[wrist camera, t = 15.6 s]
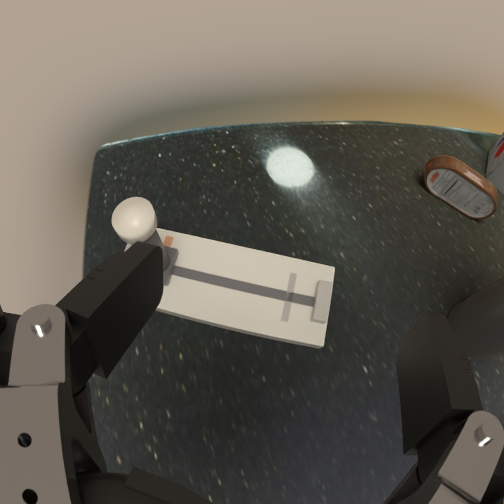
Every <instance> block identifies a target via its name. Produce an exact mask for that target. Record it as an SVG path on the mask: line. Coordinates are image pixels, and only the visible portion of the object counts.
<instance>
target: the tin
mask: <svg viewBox="0 0 504 504" xmlns="http://www.w3.org/2000/svg"><path fill="white" fill-rule="evenodd" d="M424 183H425V185H426V187H427V189H428V190H429V191H430V192H431V193H432V194H433V195H434V196H436V197H438V198H439V199H441V200H442V201H444V202H445V203H447V204H448V205H450V206H452V207H453V208H455V209H456V210H458V211H459V212H461V213H462V214H464V215H465V216H467V217H469V218H472V219H477V220H482V219H486V218H488V217H490V216H492V215H493V214H494V213H495V212H496V210H497V205H498V192H497V189H496V188H495V186H494V185H493V184H492V183H491V182H489V181H488V180H487V179H485V178H484V177H483V176H481V175H480V174H478V173H477V172H476V171H474V170H473V169H471V168H470V167H469V166H467V165H466V164H464V163H463V162H461V161H460V160H458V159H456V158H454V157H451V156H446V155H440V156H435V157H433V158H431V159H430V160H429V161H428V162H427V164H426V167H425V173H424Z"/></svg>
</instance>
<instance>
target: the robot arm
mask: <svg viewBox="0 0 504 504" xmlns="http://www.w3.org/2000/svg"><path fill="white" fill-rule="evenodd" d="M163 289H164V285H163V252H162V248H161V247H160V246H156V245H152V244H149V243H145V242H141V241H137V242H135V243H134V244H133V245H132V246H131V247H129V248H128V249H127V250H126V251H125V252H124V253H121V252H119V253H117V254H115V255H113V256H111V257H108V258H106V259H105V260H104V261H103V262H101V263H100V264H99V265H98V266H97V267H96V268H95V270H93V271H91V272H90V273H89V274H88V275H87V278H84V279H83V280H82V281H81V282H79V283H78V284H77V285H76V286H75V287H74V288H73V289H72V290H71V291H70V292H69V293H68V294H67V295H66V296H65V297H64V298H63V299H62V300H61V301H60V302H58V303H57V304H56V305H55V306H54V305H49V304H42V305H37V306H34V307H32V308H30V309H28V310H27V311H25V312H24V313H23V314H22V315H17V314H11V313H5V312H3V311H2V308H1V306H0V504H212V503H211V502H209V501H207V500H205V499H204V498H202V497H200V496H198V495H197V494H195V493H193V492H192V491H190V490H188V489H187V488H185V487H183V486H182V485H179V484H177V483H174V482H171V481H168V480H166V479H163V478H161V477H158V476H156V475H153V474H151V473H148V472H146V471H143V470H141V469H139V468H136V467H134V466H133V468H132V470H131V472H130V474H129V475H128V474H121V473H108V472H107V468H106V464H105V460H104V457H103V454H102V452H101V449H100V447H99V444H98V440H97V436H96V430H95V424H94V418H93V411H92V404H91V396H90V387H89V382H88V380H89V378H90V377H91V376H92V374H93V373H94V374H96V375H98V376H100V377H103V378H105V379H107V377H108V376H109V374H110V373H111V371H112V370H113V369H114V367H115V366H116V364H117V363H118V361H119V360H120V359H121V357H122V356H123V354H124V353H125V351H126V350H127V349H128V347H129V346H130V344H131V343H132V342H133V340H134V339H135V337H136V336H137V335H138V333H139V332H140V330H141V329H142V328H143V326H144V325H145V323H146V322H147V321H148V319H149V318H150V317H151V315H152V314H153V312H154V311H155V310H156V308H157V307H158V305H159V304H160V301H161V299H162V295H163ZM503 353H504V277H502V278H500V279H499V280H497V281H495V282H494V283H492V284H490V285H489V286H487V287H485V288H483V289H482V290H480V291H478V292H476V293H474V294H473V295H471V296H469V297H467V299H466V300H464V301H462V302H460V303H459V304H457V305H455V306H454V307H453V308H452V310H451V311H450V313H449V315H448V318H447V317H446V316H445V315H443V314H439V313H434V312H430V311H425V310H423V311H421V312H420V313H419V315H418V316H417V318H416V320H415V322H414V324H413V325H412V327H411V329H410V331H409V332H408V334H407V336H406V338H405V339H404V341H403V343H402V344H401V346H400V348H399V351H398V355H397V361H396V366H397V374H398V383H399V393H400V403H401V416H402V430H403V451H404V455H418V462H417V463H416V464H414V465H413V467H412V468H411V469H410V470H409V472H408V473H407V474H406V476H405V477H404V478H403V480H402V481H401V482H400V484H399V485H398V486H397V487H396V489H395V490H394V491H393V492H392V494H391V495H390V496H389V497H388V498H387V500H386V501H385V502H384V503H383V504H504V503H503V499H504V430H503V427H502V425H501V423H500V422H499V420H498V419H497V418H496V417H495V416H494V415H492V414H490V413H488V412H486V411H483V408H482V404H481V400H480V397H479V393H478V390H477V386H476V383H475V379H474V376H473V373H471V370H472V369H471V366H470V363H469V362H472V361H476V360H480V359H484V358H488V357H492V356H496V355H499V354H503Z"/></svg>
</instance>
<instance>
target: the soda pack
mask: <svg viewBox="0 0 504 504" xmlns="http://www.w3.org/2000/svg"><path fill="white" fill-rule="evenodd" d="M485 179H487V180H488V181H489V182H491V183H492V184H493V185H494V186H495V188H496V189H497V190H498V191H499V192H500V193H501V194H502V195H504V133H503V134H502V135H501V137H500V138H499V139H498V140H497V142H496V143H495V144H494V145H493V147H492V148H491V149H490V150H489V156H488V164H487V170H486V177H485Z"/></svg>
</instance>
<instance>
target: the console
mask: <svg viewBox="0 0 504 504" xmlns="http://www.w3.org/2000/svg"><path fill="white" fill-rule="evenodd" d="M156 230H157V232H158V234H159V236H160V238H161V241H162V243H163V245H164V246H167V247H171V248H176V249H178V252H179V253H178V256H177V259H176V262H175V265H174V268H173V271H172V274H171V277H170V280H169V283H168V286H167V285H164V289H163V295H162V299H161V301H160V304H159V305H158V307H157V308H156V311H159V312H163V313H166V314H170V315H174V316H177V317H181V318H185V319H189V320H192V321H196V322H200V323H204V324H208V325H212V326H216V327H220V328H224V329H228V330H232V331H237V332H241V333H245V334H250V335H254V336H259V337H263V338H268V339H273V340H277V341H282V342H287V343H292V344H297V345H302V346H308V347H313V348H318V349H319V348H321V347H323V345H324V339H325V333H326V327H327V321H328V314H329V308H330V301H331V294H332V286H333V279H334V271H335V267H331V266H327V265H322V264H318V263H313V262H309V261H304V260H300V259H295V258H291V257H286V256H282V255H277V254H273V253H268V252H264V251H259V250H255V249H250V248H246V247H241V246H237V245H232V244H227V243H223V242H218V241H214V240H209V239H205V238H200V237H196V236H191V235H187V234H182V233H178V232H173V231H168V230H164V229H159V228H156ZM131 246H132V245H131V244H130V243H128V244H127V246H126V249H125V251H126V250H127V249H128V248H129V247H131ZM125 251H124V252H125Z"/></svg>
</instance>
